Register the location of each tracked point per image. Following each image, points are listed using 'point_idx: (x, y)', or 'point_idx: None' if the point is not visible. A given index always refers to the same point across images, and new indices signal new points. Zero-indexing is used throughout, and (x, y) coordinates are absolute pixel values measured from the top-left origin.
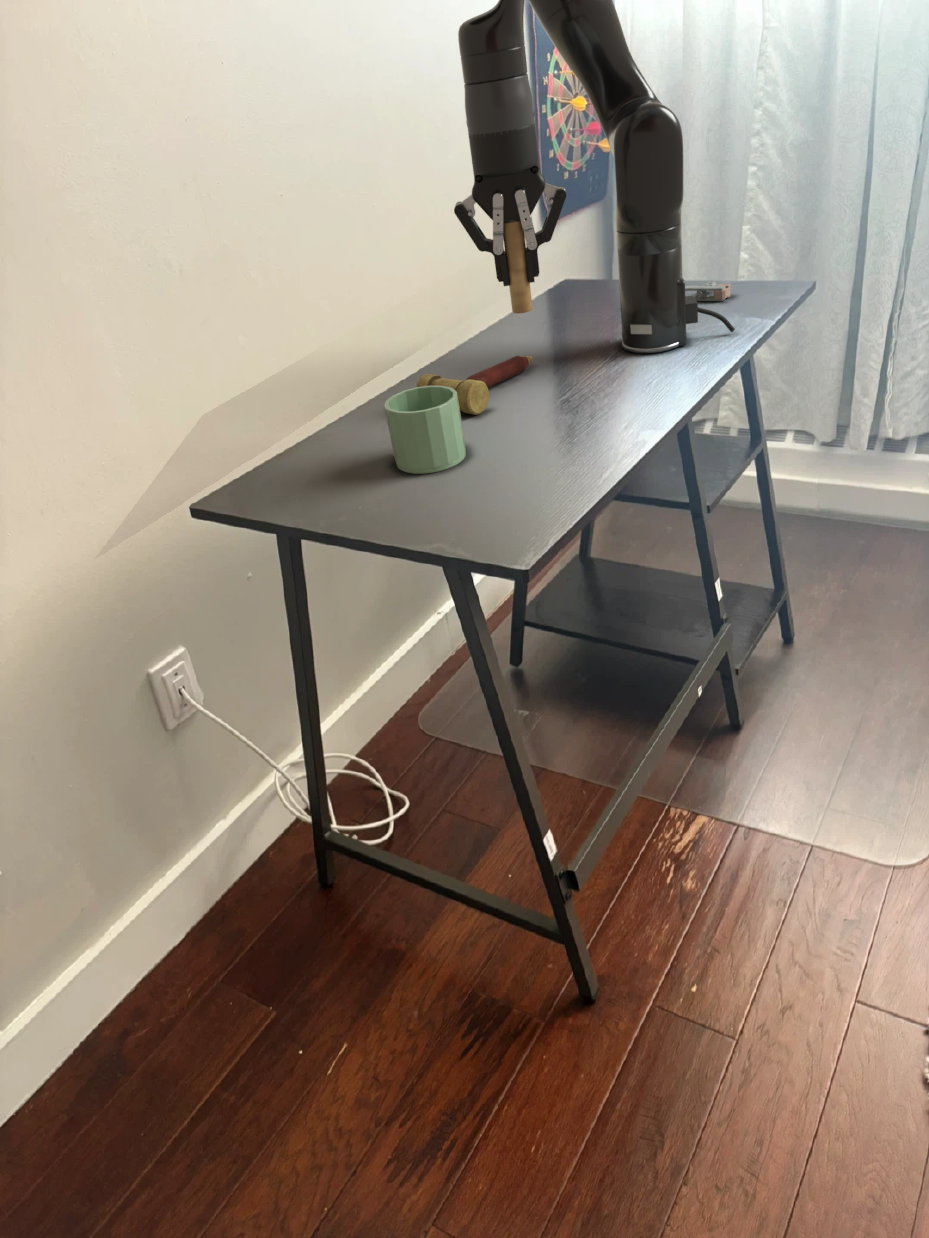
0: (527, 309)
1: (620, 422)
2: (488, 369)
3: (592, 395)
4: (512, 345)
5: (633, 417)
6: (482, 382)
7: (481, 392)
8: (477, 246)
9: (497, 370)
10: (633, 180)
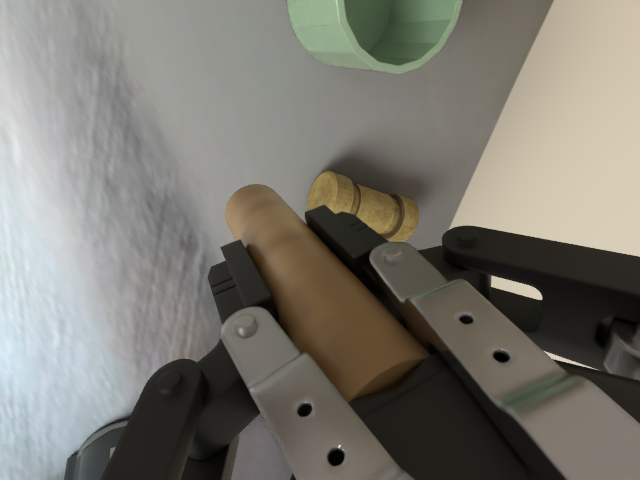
0: (233, 198)
1: (32, 163)
2: None
3: (150, 272)
4: None
5: (15, 188)
6: None
7: (320, 205)
8: (487, 230)
9: None
10: None
